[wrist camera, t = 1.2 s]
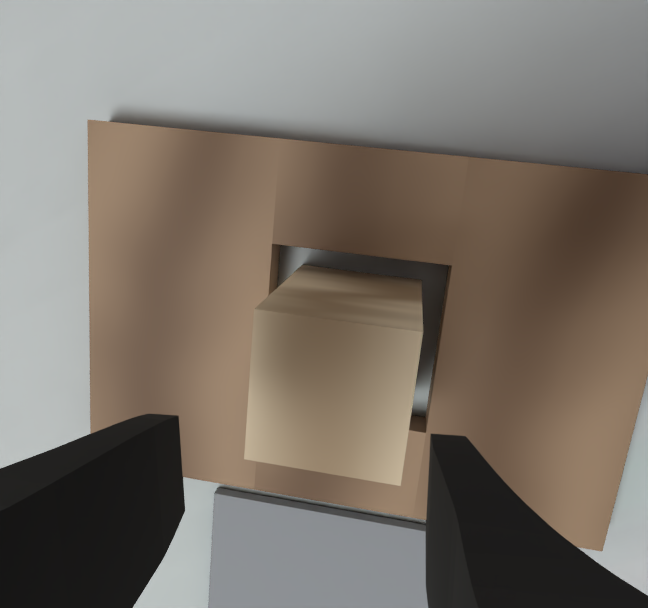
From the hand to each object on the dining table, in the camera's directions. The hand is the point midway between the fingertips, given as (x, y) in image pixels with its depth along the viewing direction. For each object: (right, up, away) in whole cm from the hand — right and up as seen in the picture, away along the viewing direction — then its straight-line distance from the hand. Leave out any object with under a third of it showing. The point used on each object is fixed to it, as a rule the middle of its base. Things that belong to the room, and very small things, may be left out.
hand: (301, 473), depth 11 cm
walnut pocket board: (+1, +2, +9) cm, 9 cm away
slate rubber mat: (0, -9, +12) cm, 15 cm away
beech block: (+1, +2, +9) cm, 10 cm away
